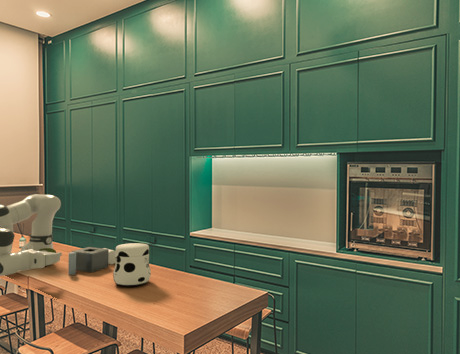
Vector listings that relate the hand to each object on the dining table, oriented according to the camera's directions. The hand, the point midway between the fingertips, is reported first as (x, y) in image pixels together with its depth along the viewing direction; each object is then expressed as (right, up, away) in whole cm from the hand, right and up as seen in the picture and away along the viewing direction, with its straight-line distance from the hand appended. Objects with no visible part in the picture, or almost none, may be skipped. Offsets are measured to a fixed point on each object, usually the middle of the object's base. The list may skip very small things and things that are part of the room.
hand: (53, 253), depth 177 cm
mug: (+15, -14, +38) cm, 44 cm away
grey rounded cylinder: (+4, -13, +12) cm, 18 cm away
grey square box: (+9, -13, +24) cm, 29 cm away
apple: (-18, -13, +29) cm, 37 cm away
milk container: (+39, -14, -3) cm, 42 cm away
